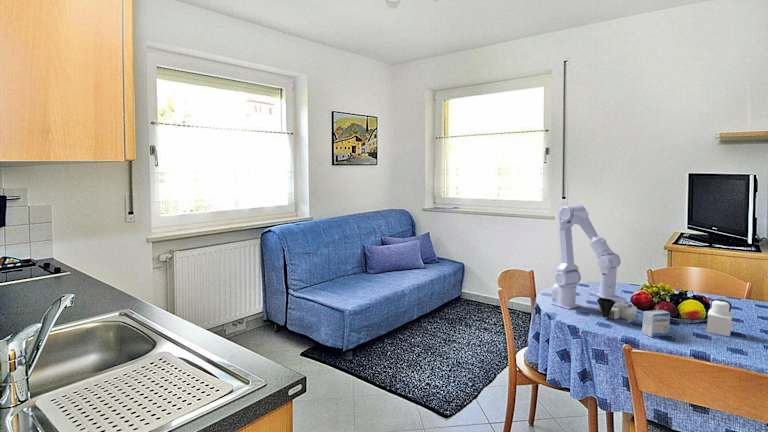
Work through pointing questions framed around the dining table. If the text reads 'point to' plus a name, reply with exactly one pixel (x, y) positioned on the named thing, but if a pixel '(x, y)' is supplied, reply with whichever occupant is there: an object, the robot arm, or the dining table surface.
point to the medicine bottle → (719, 318)
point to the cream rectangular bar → (615, 312)
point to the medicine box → (656, 323)
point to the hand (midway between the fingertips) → (605, 316)
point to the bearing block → (625, 311)
